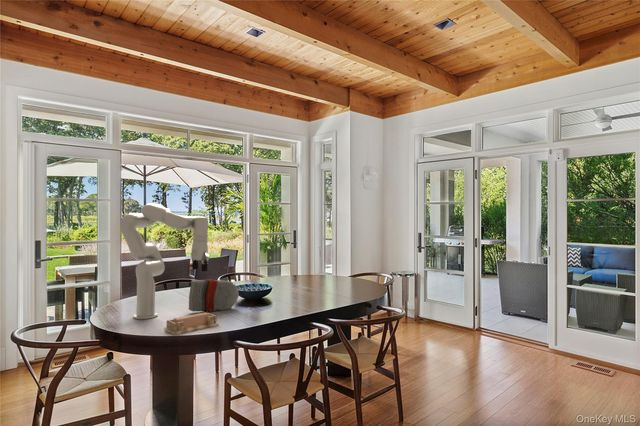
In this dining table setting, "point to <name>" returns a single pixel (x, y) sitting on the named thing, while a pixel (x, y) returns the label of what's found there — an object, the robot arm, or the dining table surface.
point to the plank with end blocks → (179, 327)
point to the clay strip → (193, 319)
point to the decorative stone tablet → (212, 295)
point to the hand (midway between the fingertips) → (199, 270)
